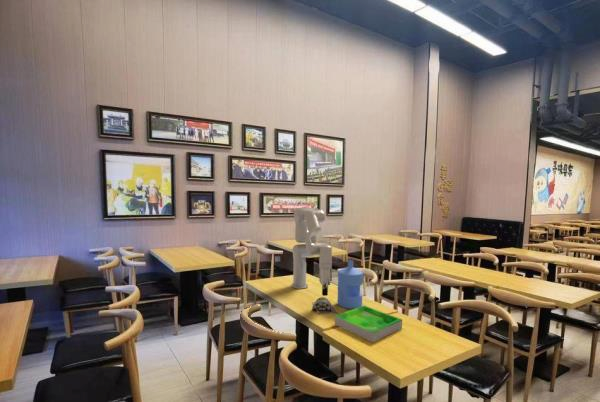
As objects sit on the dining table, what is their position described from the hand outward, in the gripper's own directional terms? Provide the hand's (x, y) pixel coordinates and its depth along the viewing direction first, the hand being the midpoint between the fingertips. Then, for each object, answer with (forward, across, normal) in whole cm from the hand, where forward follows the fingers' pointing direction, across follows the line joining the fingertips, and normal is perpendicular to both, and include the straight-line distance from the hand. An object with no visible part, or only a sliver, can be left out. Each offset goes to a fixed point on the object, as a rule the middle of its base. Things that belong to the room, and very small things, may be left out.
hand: (324, 295), depth 187 cm
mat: (+8, 0, 0) cm, 8 cm away
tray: (+8, +28, +17) cm, 34 cm away
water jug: (+8, -3, +17) cm, 19 cm away
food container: (+4, -3, -1) cm, 5 cm away
